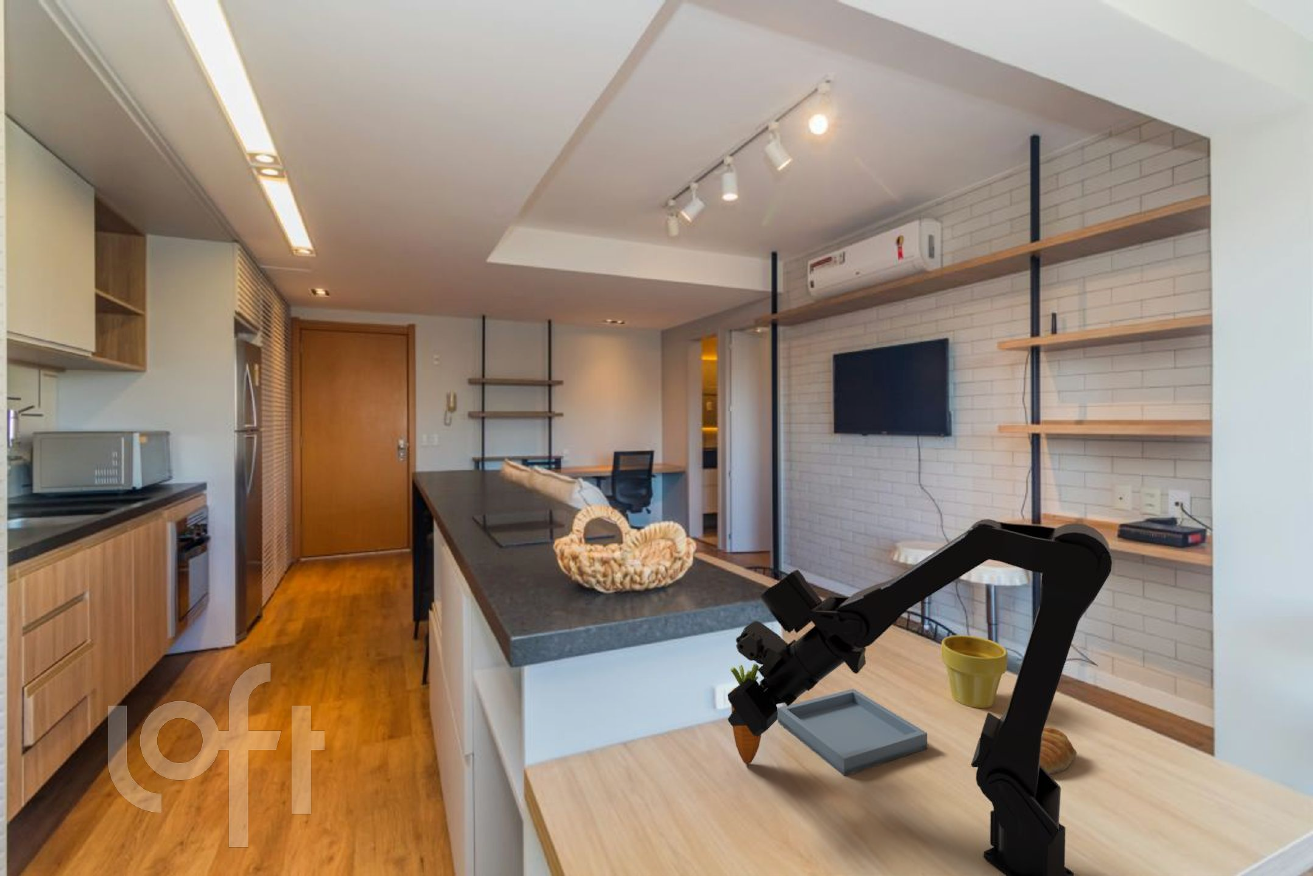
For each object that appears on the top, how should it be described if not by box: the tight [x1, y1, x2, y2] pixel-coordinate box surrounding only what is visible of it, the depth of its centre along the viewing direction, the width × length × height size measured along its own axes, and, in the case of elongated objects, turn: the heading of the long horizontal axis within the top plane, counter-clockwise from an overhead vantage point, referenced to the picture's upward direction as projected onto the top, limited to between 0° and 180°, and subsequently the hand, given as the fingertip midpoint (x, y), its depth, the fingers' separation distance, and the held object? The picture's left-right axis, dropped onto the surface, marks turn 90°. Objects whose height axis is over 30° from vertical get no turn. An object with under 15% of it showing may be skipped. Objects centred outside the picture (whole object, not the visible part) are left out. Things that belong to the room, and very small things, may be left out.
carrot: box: [730, 662, 762, 766], centre depth 87 cm, size 5×5×15 cm
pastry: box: [1040, 726, 1078, 775], centre depth 87 cm, size 9×7×4 cm
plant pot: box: [940, 634, 1008, 709], centre depth 106 cm, size 10×10×10 cm
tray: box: [777, 688, 928, 777], centre depth 95 cm, size 16×16×2 cm
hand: (738, 714), depth 88 cm, fingers closed on carrot, 5 cm apart
